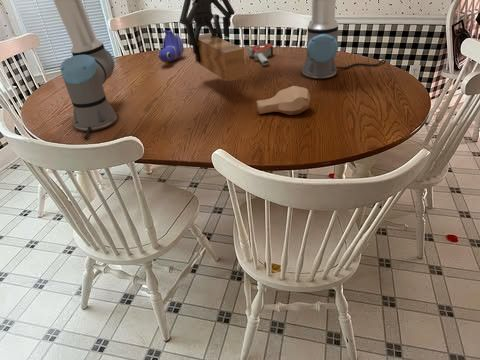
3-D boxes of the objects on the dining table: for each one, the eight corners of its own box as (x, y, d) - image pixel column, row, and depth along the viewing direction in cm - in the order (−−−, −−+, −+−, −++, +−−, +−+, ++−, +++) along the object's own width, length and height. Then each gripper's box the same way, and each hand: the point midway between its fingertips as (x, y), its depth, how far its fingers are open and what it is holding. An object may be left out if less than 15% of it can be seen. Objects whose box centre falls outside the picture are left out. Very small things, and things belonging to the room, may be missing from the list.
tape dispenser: (265, 70, 173) (284, 55, 186) (265, 59, 170) (284, 45, 183) (235, 63, 181) (255, 50, 193) (235, 53, 177) (255, 40, 190)
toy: (171, 62, 199) (152, 68, 177) (167, 30, 192) (146, 32, 170) (188, 61, 197) (171, 67, 175) (184, 29, 190) (166, 30, 168)
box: (244, 76, 138) (243, 48, 131) (226, 81, 135) (224, 52, 128) (211, 58, 159) (209, 33, 153) (195, 61, 156) (192, 36, 150)
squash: (314, 116, 128) (313, 95, 122) (259, 125, 130) (256, 105, 124) (308, 99, 136) (307, 78, 129) (257, 108, 138) (253, 88, 131)
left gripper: (230, -33, 124) (235, 31, 136) (162, -23, 115) (174, 45, 127) (240, -32, 118) (245, 35, 131) (170, -21, 109) (182, 49, 122)
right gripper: (220, -4, 147) (224, 52, 160) (173, 3, 139) (182, 61, 153) (228, -2, 141) (232, 56, 155) (180, 6, 134) (188, 66, 147)
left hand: (210, 40), depth 129 cm, fingers open, 13 cm apart
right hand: (207, 59), depth 154 cm, fingers closed on box, 8 cm apart
